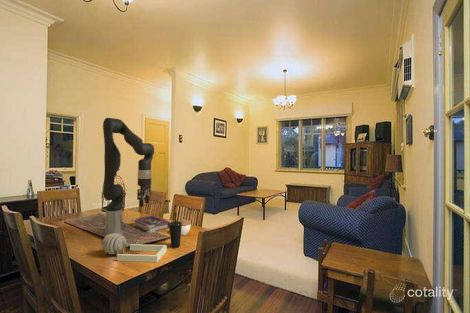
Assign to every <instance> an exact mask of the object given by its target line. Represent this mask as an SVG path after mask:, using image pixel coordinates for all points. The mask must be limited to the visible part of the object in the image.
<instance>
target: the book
mask: <svg viewBox="0 0 470 313" xmlns="http://www.w3.org/2000/svg"><path fill="white" fill-rule="evenodd" d="M131 221H132V222H134V223H133V224H132V226H134V227H136V228H138V229H140V230H142V231H144V232H147V233H149V234H151V233H155V232H159V231H164V230H167V229H170V228H169V223H170V222H171V221H169V220H167V219H164V218H161V217H159V216H155V215H147V216H142V217H138V218H131Z"/></svg>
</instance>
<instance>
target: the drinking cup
mask: <svg viewBox="0 0 470 313" xmlns="http://www.w3.org/2000/svg"><path fill="white" fill-rule="evenodd" d="M181 228H182V222H180V221H178V220H177V212H176V211H175V212H174V220H173V221H170V223H169V228H168V229H169V237H170V247H171V249H178V248H180V247H181V239H182V238H181V237H182V235H181Z"/></svg>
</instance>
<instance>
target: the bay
mask: <svg viewBox="0 0 470 313" xmlns="http://www.w3.org/2000/svg"><path fill="white" fill-rule="evenodd" d="M167 247H168V246H167V244H166V245H165V244H135V243H133V244H132V243H131V244H129V251H134V252H135V251H136V252H137V251H140V252H143V251H144V252H157V253H156V254H133V253H132V254H131V253H127V254H125V253H124V254H122V253H119V254H118V255H117V257H116V258H117V260H116V261H117V262H137V263H139V262H141V263H142V262H143V263H158V262H159V261H160V260H161V258H163V256H164V254H165V253H166V252H167V251H168V248H167Z"/></svg>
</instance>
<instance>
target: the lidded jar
mask: <svg viewBox="0 0 470 313" xmlns="http://www.w3.org/2000/svg"><path fill="white" fill-rule="evenodd" d="M177 221H180V222H182V228H181V236H185V235H187V234H188V233H189V232H190V230H191V223H192V221H191V220H189V219H183V218H182V219H178V220H177Z"/></svg>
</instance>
